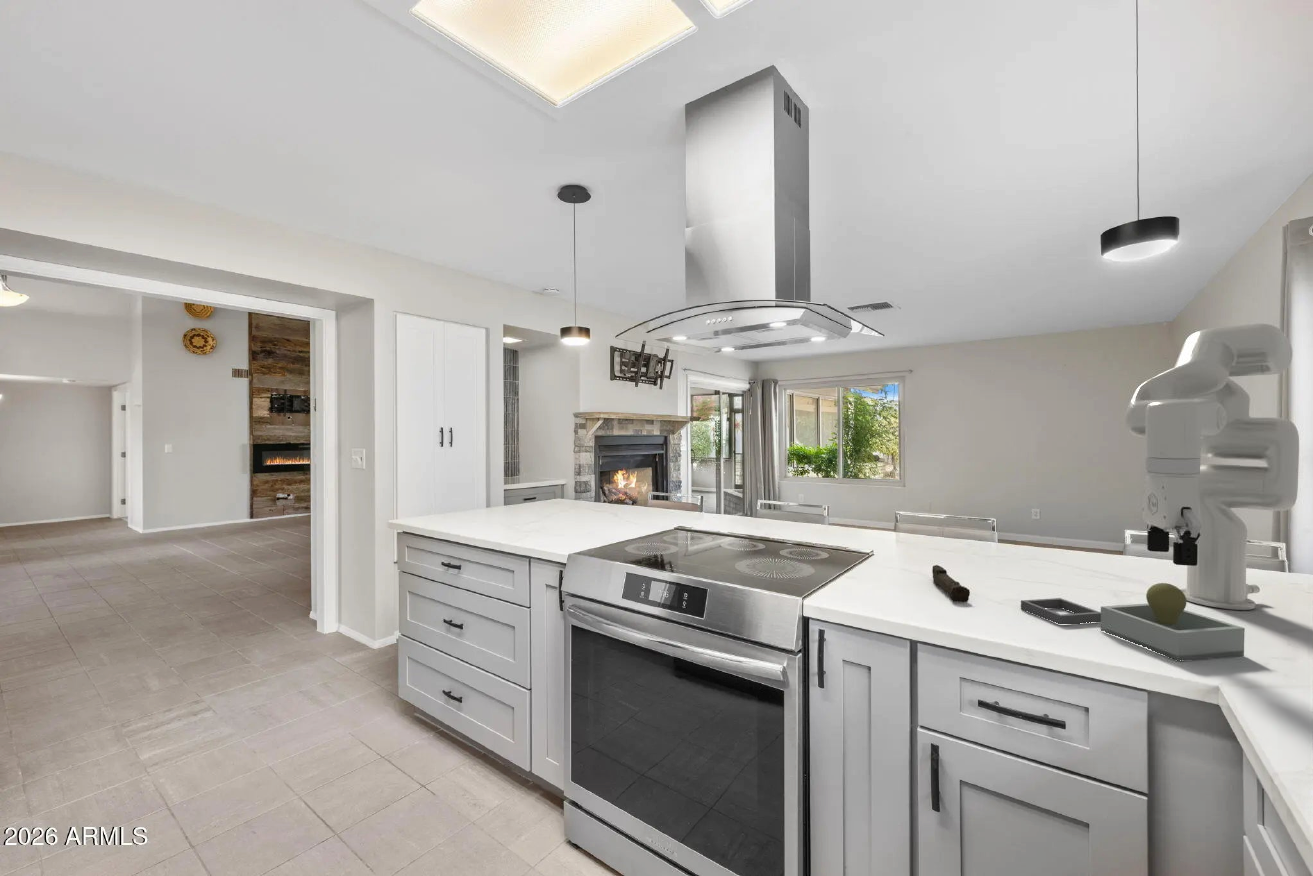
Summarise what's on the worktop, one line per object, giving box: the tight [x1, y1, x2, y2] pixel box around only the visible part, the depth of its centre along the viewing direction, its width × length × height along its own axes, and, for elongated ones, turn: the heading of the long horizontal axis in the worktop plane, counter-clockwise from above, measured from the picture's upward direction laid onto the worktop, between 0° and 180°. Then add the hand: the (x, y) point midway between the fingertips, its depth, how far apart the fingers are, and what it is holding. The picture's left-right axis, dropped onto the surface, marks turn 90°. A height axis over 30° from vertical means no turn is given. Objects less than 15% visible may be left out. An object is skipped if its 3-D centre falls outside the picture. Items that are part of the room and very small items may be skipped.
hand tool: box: [931, 564, 971, 603], centre depth 136 cm, size 19×4×5 cm, turn 168°
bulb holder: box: [1020, 597, 1101, 625], centre depth 118 cm, size 10×10×2 cm
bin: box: [1100, 602, 1245, 662], centre depth 103 cm, size 14×14×5 cm
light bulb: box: [1145, 582, 1188, 630], centre depth 104 cm, size 6×6×10 cm
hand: (1171, 557), depth 103 cm, fingers open, 9 cm apart
